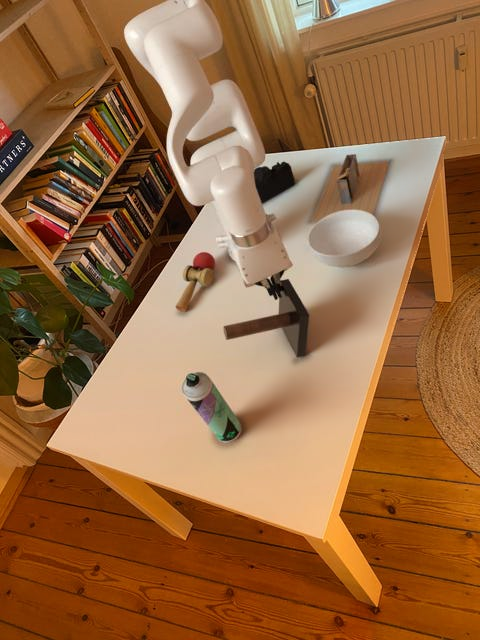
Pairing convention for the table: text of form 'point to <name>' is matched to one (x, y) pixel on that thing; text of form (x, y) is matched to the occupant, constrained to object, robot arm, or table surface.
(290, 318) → the towel holder
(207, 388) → the spray can
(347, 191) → the ruin model on sheet
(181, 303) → the kendama
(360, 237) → the cereal bowl
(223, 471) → the table surface
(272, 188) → the film camera
